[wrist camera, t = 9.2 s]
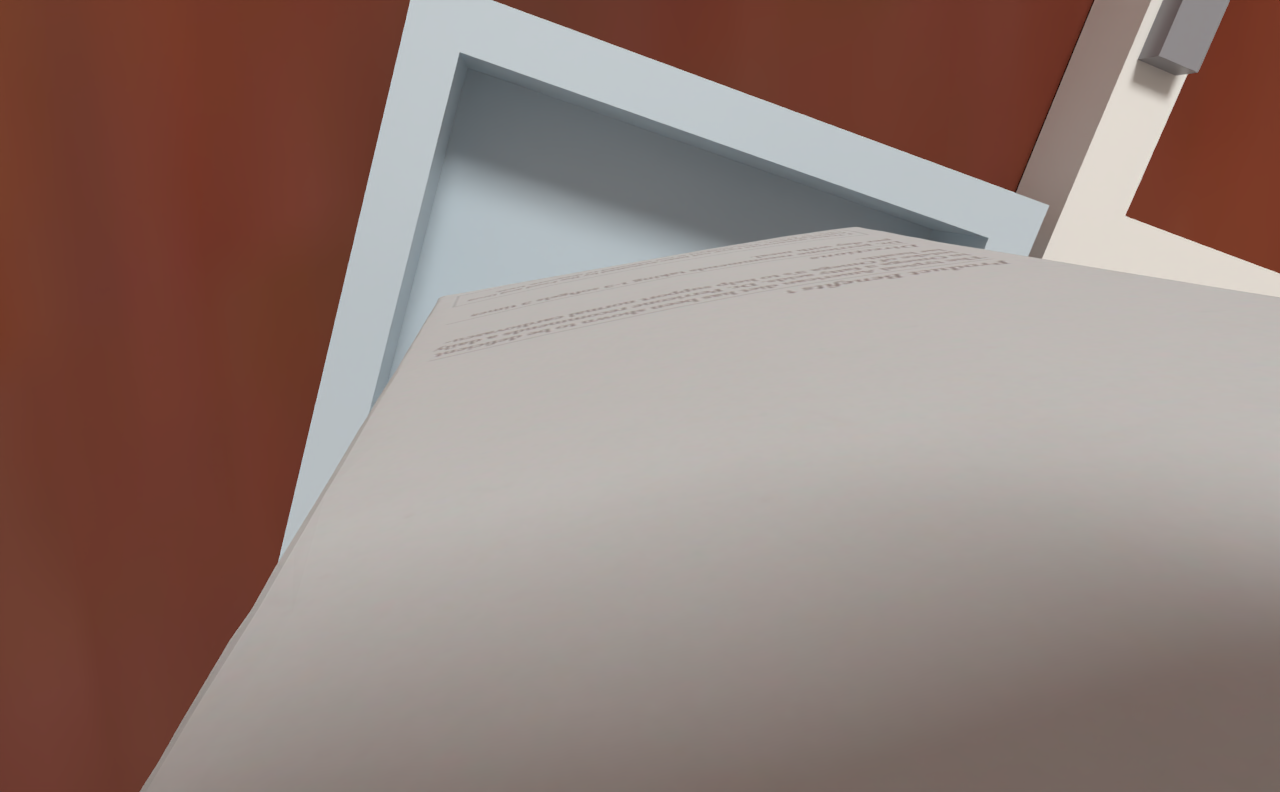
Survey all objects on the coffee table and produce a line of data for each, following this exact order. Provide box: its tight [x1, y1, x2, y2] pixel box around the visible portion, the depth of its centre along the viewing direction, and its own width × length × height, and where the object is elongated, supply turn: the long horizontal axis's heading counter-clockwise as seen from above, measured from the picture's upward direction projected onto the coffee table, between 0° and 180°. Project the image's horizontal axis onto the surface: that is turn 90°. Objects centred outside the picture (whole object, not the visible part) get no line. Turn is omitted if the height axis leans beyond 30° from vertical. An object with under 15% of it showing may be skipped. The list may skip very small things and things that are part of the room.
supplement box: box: [140, 227, 1280, 792], centre depth 8 cm, size 7×7×13 cm
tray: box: [278, 0, 1049, 562], centre depth 18 cm, size 13×13×3 cm
